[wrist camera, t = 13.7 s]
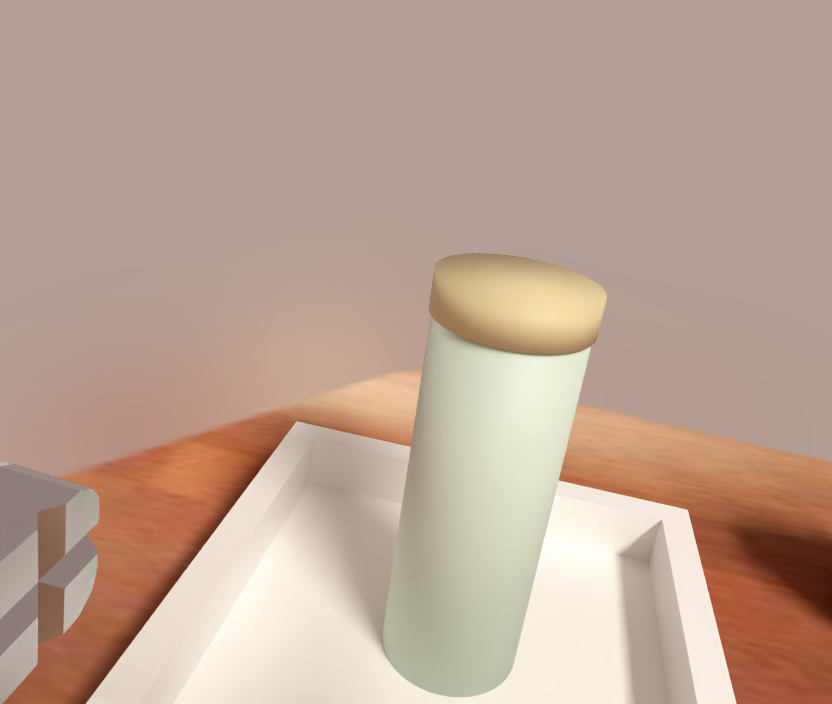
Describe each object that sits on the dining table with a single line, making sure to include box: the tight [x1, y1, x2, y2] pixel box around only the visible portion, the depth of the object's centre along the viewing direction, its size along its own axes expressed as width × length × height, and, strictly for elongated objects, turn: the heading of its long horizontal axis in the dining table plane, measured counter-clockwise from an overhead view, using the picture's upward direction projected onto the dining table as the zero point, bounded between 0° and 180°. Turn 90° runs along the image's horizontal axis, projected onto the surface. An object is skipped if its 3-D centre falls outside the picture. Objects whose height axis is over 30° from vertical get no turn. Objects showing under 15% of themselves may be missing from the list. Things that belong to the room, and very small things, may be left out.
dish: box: [86, 421, 736, 704], centre depth 26 cm, size 17×17×3 cm
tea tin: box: [382, 253, 607, 697], centre depth 24 cm, size 5×5×13 cm
